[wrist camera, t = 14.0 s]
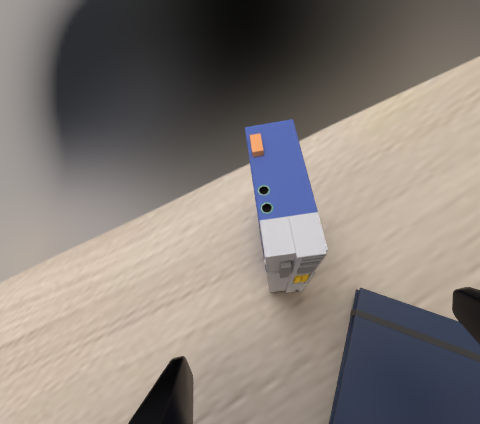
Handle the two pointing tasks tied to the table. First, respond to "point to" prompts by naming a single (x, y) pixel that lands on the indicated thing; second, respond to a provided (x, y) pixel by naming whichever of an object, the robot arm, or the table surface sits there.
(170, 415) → the robot arm
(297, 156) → the walkman
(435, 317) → the notebook
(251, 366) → the table surface
